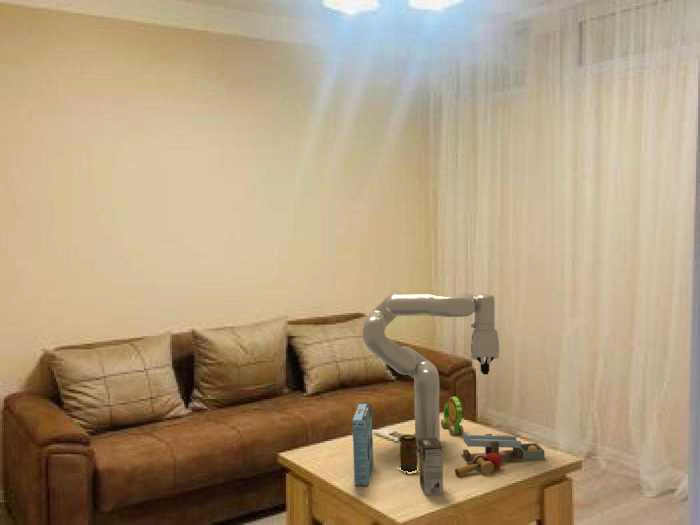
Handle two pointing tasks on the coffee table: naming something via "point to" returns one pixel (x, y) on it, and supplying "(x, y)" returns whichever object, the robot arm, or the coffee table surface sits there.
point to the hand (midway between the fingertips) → (484, 373)
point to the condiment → (408, 453)
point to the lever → (487, 440)
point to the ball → (532, 448)
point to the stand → (505, 456)
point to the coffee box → (431, 466)
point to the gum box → (362, 444)
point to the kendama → (481, 464)
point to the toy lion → (453, 416)
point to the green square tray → (531, 452)
